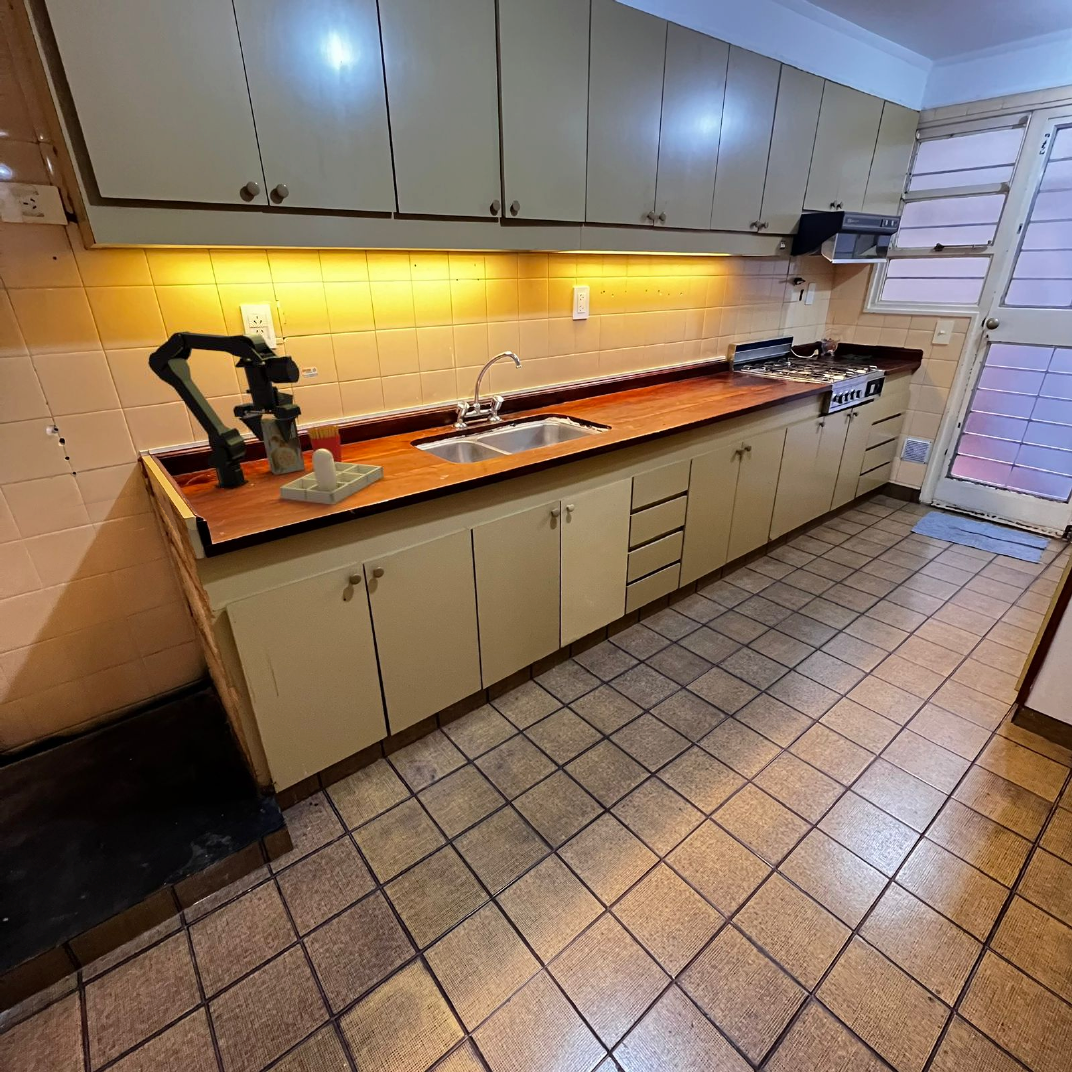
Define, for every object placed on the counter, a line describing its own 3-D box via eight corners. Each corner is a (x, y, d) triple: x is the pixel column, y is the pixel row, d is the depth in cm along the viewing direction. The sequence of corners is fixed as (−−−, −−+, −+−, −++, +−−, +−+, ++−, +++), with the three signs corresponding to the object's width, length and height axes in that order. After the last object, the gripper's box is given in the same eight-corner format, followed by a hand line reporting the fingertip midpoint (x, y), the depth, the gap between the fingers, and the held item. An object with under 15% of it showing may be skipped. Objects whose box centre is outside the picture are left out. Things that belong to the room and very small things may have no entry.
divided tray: (281, 498, 152) (279, 487, 151) (336, 471, 173) (335, 461, 171) (333, 504, 147) (331, 493, 146) (383, 476, 168) (382, 466, 167)
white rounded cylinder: (316, 498, 149) (308, 452, 144) (321, 492, 154) (313, 447, 149) (337, 497, 150) (329, 451, 145) (340, 491, 154) (333, 446, 149)
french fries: (342, 462, 182) (335, 422, 176) (345, 465, 178) (339, 424, 173) (312, 467, 177) (305, 426, 172) (315, 470, 174) (308, 428, 169)
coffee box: (300, 465, 180) (290, 414, 173) (305, 469, 175) (296, 418, 168) (269, 470, 175) (258, 418, 168) (274, 475, 170) (263, 422, 163)
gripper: (309, 379, 152) (321, 436, 159) (258, 379, 159) (271, 433, 165) (278, 386, 143) (292, 446, 149) (224, 385, 150) (240, 443, 156)
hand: (274, 442), depth 155 cm, fingers open, 9 cm apart
